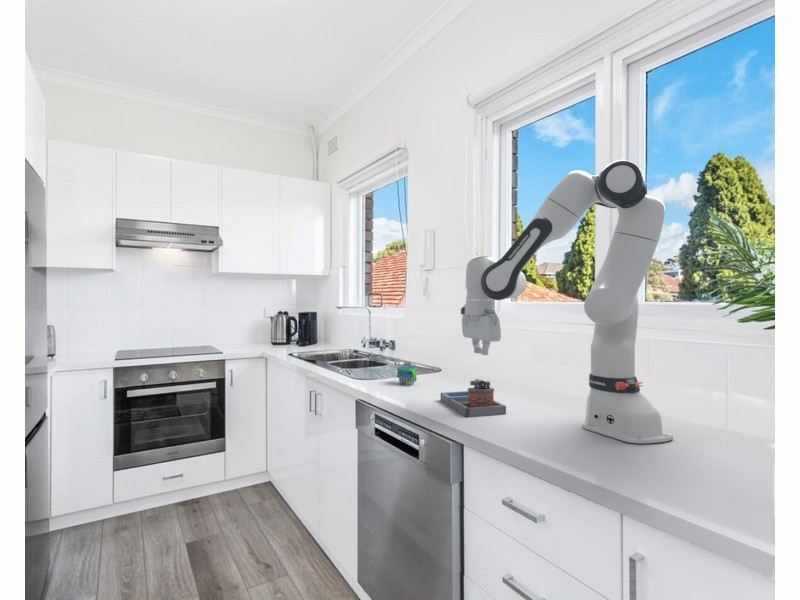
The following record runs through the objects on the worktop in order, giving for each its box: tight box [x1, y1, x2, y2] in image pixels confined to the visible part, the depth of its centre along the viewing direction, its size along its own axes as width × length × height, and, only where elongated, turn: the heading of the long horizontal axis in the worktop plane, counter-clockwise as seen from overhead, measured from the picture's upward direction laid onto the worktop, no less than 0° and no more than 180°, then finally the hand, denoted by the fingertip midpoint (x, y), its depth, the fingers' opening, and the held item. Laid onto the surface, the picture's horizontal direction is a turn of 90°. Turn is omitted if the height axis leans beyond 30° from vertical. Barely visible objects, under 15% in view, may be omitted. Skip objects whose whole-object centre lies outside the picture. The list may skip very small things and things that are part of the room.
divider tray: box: [440, 378, 507, 418], centre depth 147 cm, size 22×14×7 cm, turn 15°
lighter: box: [467, 379, 495, 408], centre depth 140 cm, size 8×3×10 cm, turn 91°
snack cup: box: [396, 365, 418, 387], centre depth 184 cm, size 11×8×7 cm
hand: (481, 354), depth 140 cm, fingers open, 4 cm apart
